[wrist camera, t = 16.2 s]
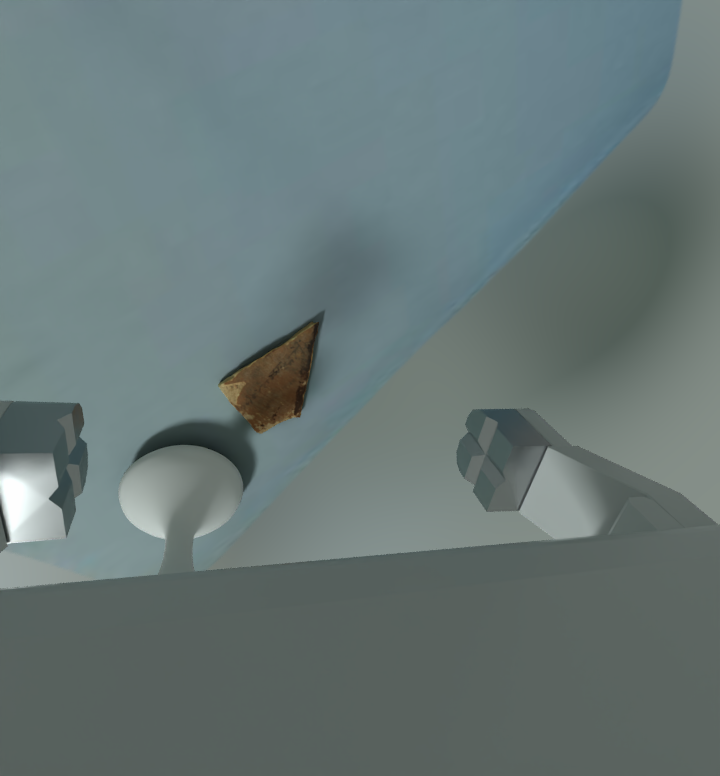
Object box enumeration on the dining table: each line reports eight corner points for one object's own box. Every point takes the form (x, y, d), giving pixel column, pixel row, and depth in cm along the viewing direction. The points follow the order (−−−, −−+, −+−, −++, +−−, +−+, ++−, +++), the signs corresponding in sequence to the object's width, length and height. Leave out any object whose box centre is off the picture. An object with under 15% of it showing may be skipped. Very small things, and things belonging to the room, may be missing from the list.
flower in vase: (265, 476, 50) (301, 741, 29) (186, 539, 51) (167, 833, 30) (166, 403, 43) (121, 683, 22) (78, 477, 44) (-42, 806, 23)
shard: (315, 315, 43) (319, 323, 41) (354, 375, 47) (359, 384, 45) (215, 377, 43) (215, 387, 42) (262, 431, 48) (264, 442, 46)
